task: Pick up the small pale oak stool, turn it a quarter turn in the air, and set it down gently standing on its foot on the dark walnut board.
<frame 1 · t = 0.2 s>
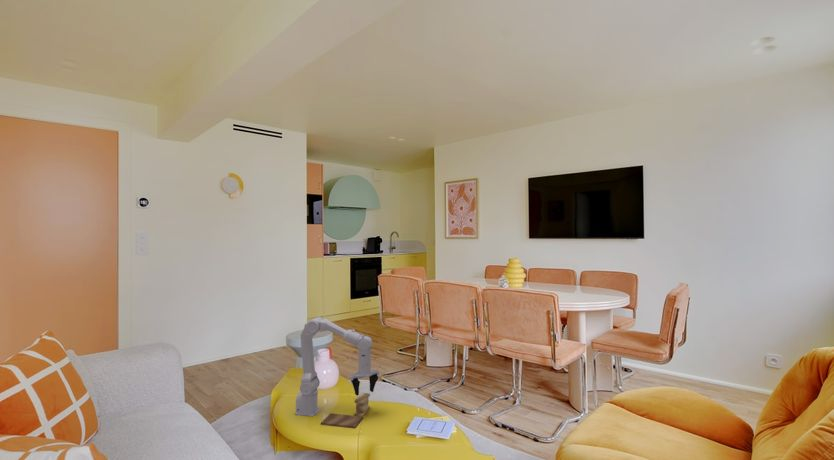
hand: (364, 393, 184), 10 cm above the table, tool pointing down, fingers open, 7 cm apart
walnut board: (342, 421, 176), on the table
oak stool: (362, 411, 187), on the table
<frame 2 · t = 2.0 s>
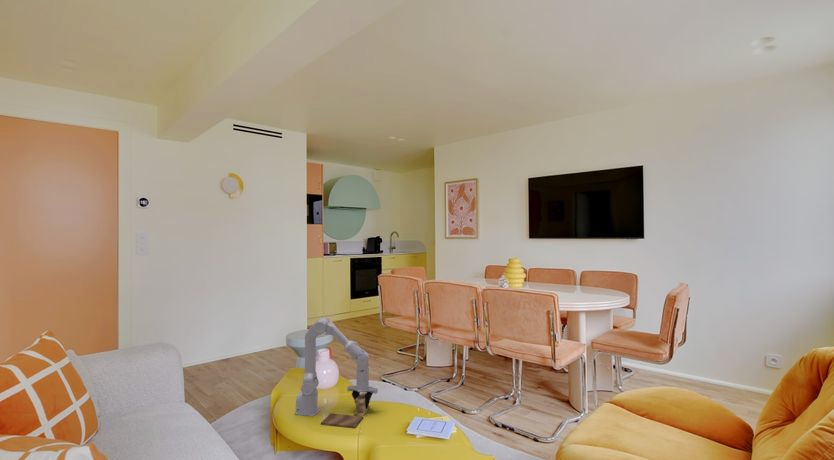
hand: (362, 407, 187), 2 cm above the table, tool pointing down, fingers closed on oak stool, 4 cm apart
oak stool: (362, 411, 187), on the table, touching gripper
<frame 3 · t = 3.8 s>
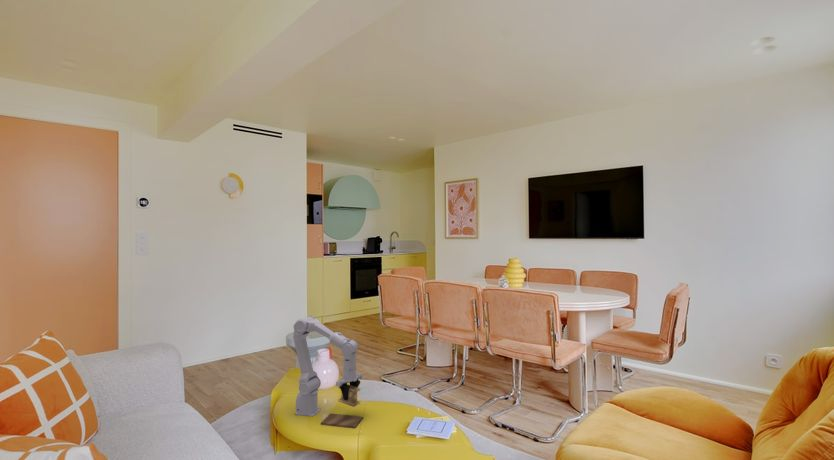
hand: (349, 398, 180), 9 cm above the table, tool pointing down, fingers closed on oak stool, 4 cm apart
oak stool: (349, 402, 180), point 7 cm above the table, touching gripper
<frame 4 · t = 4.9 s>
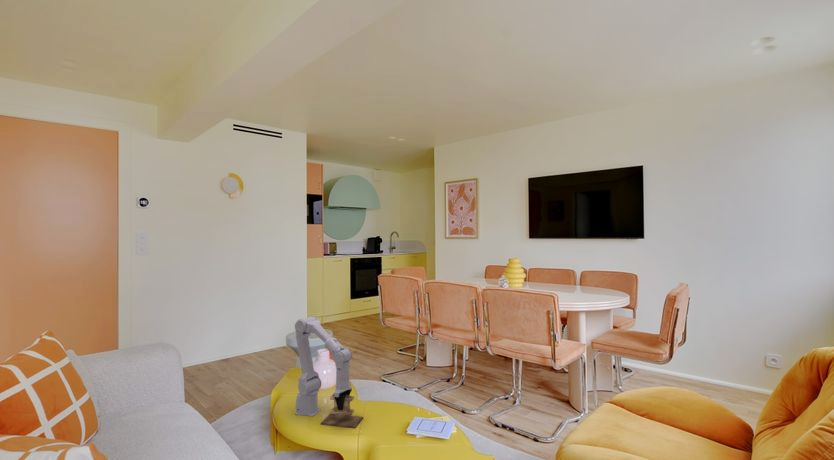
hand: (342, 407, 177), 6 cm above the table, tool pointing down, fingers closed on oak stool, 4 cm apart
oak stool: (342, 412, 177), point 4 cm above the table, touching gripper
when the fingers open (4 cm above the table, at t = 5.7 s): oak stool drops 1 cm, resting on walnut board.
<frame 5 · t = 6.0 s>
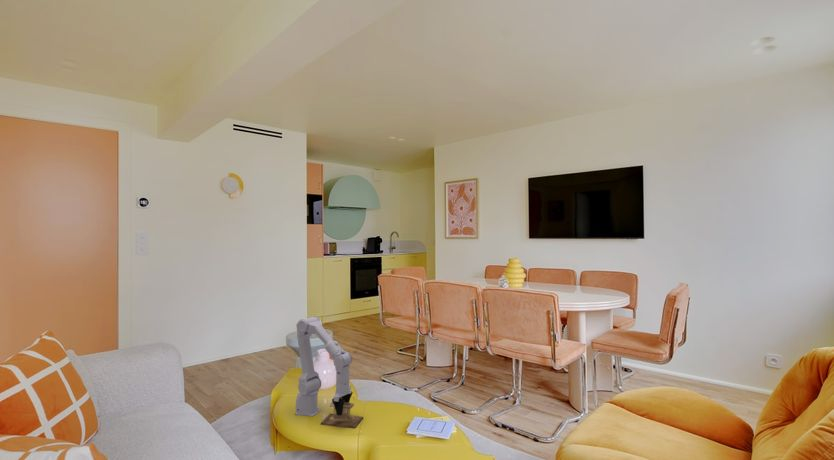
hand: (342, 411, 177), 4 cm above the table, tool pointing down, fingers open, 6 cm apart
oak stool: (341, 419, 176), point 1 cm above the table, touching walnut board
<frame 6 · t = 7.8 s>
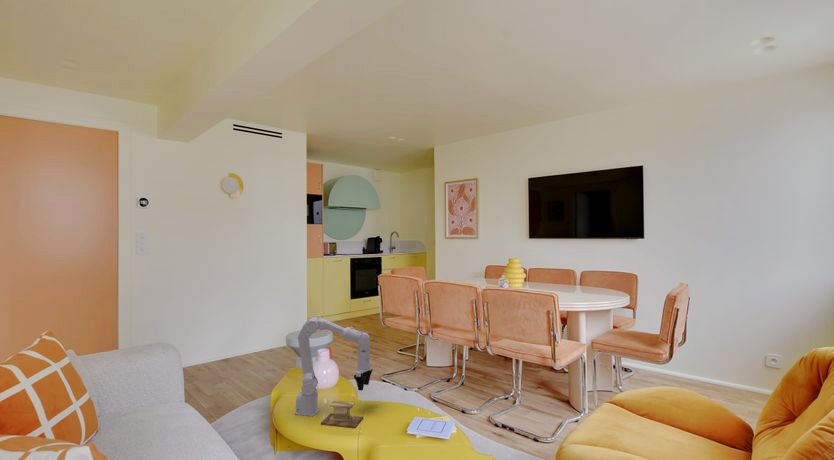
hand: (363, 387, 190), 10 cm above the table, tool pointing down, fingers open, 7 cm apart
nothing on the table moved.
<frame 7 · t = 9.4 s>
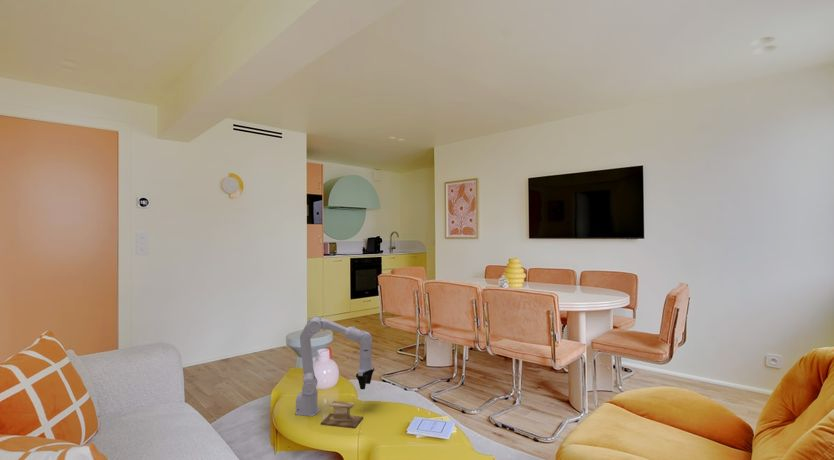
hand: (365, 386, 191), 10 cm above the table, tool pointing down, fingers open, 7 cm apart
nothing on the table moved.
at the end: oak stool 0.1 cm off-centre on the walnut board, point 0.8 cm above the walnut board's base; oak stool tilted 0°; the gripper is holding nothing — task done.
